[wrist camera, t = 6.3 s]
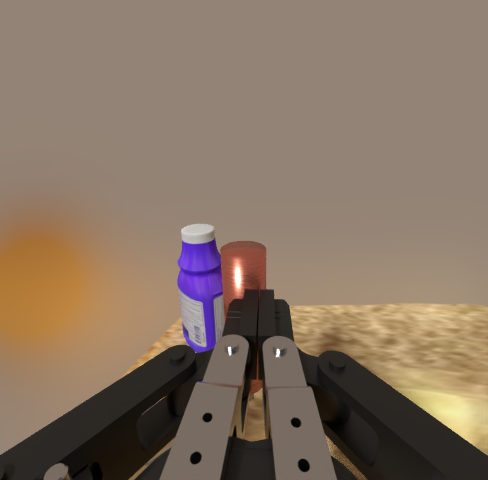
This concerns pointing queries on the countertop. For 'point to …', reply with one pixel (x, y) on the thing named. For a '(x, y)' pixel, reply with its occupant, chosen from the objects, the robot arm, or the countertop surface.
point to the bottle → (201, 287)
